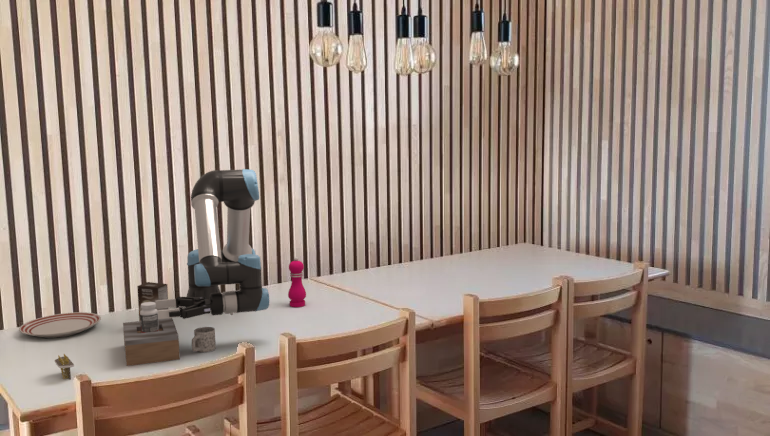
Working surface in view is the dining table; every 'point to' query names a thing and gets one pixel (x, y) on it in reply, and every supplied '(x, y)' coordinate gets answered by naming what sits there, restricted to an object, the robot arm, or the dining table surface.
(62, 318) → the dinner plate
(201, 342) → the mug
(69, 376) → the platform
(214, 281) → the robot arm
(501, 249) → the dining table surface
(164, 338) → the tissue box
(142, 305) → the pill bottle
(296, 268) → the pepper mill
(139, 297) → the coffee box
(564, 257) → the dining table surface
